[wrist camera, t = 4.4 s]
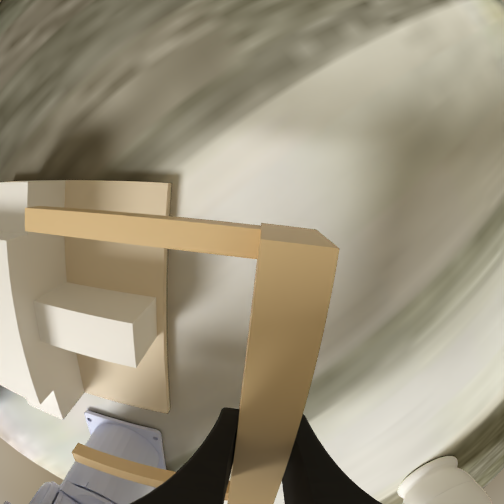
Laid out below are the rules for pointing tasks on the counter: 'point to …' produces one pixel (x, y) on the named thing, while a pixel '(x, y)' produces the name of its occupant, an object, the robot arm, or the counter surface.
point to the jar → (442, 485)
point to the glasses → (259, 337)
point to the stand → (82, 301)
